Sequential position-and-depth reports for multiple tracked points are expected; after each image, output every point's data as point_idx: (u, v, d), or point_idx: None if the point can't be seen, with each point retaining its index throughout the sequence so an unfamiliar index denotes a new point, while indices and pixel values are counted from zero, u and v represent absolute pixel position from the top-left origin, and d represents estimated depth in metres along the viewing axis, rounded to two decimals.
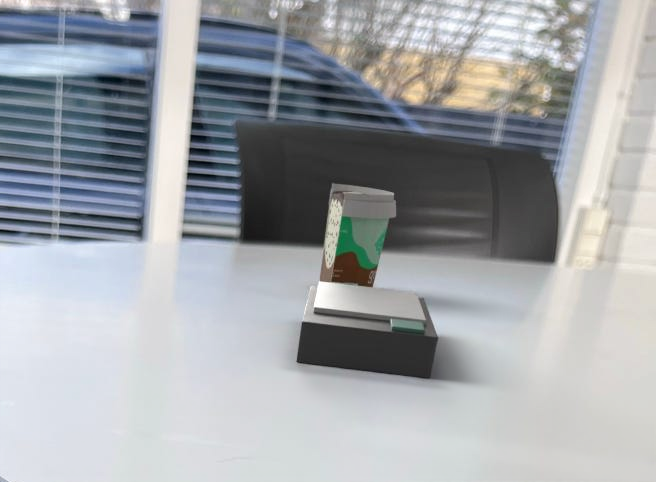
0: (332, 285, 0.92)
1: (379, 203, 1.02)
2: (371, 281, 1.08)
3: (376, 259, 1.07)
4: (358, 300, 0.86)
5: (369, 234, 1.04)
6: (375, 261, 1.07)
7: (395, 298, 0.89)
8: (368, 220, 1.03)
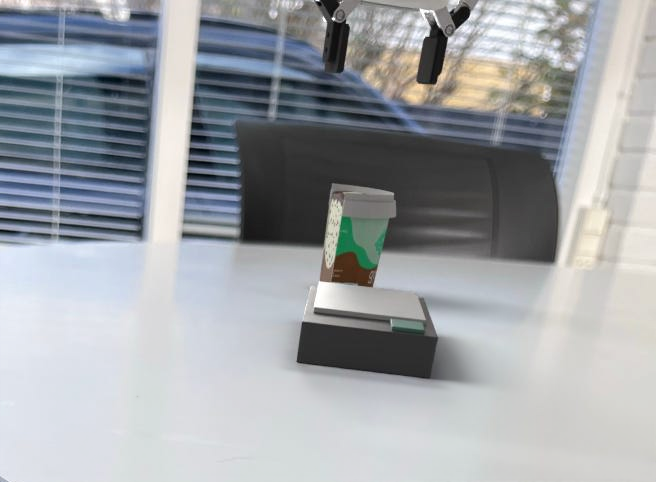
0: (332, 285, 0.92)
1: (379, 203, 1.02)
2: (371, 281, 1.08)
3: (376, 259, 1.07)
4: (358, 300, 0.86)
5: (370, 234, 1.04)
6: (375, 261, 1.07)
7: (395, 298, 0.89)
8: (368, 220, 1.03)
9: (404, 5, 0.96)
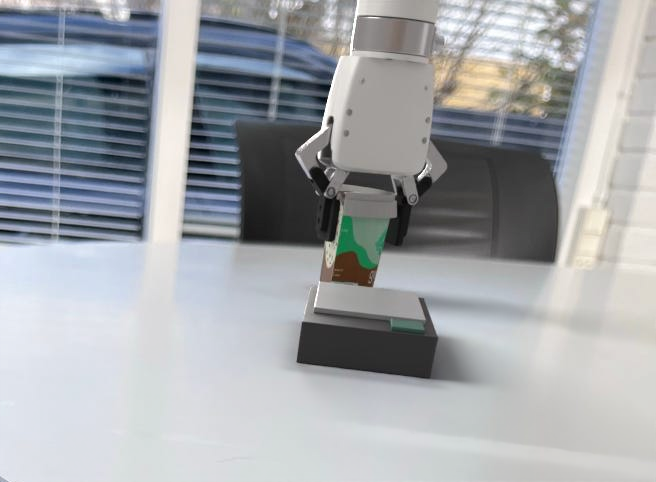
0: (332, 285, 0.92)
1: (380, 203, 1.03)
2: (371, 281, 1.08)
3: (376, 259, 1.07)
4: (358, 300, 0.86)
5: (370, 234, 1.04)
6: (375, 261, 1.07)
7: (395, 298, 0.89)
8: (369, 220, 1.03)
9: (381, 173, 1.04)
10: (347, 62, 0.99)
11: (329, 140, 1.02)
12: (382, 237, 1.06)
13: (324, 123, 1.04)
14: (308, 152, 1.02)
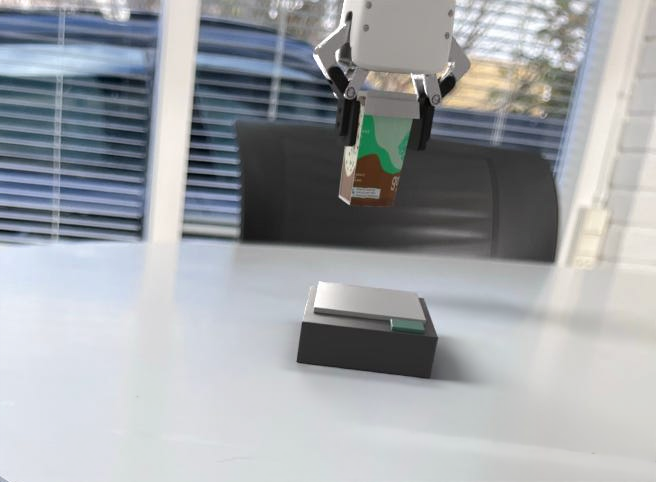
0: (332, 285, 0.92)
1: (402, 101, 0.98)
2: (394, 188, 1.04)
3: (399, 164, 1.03)
4: (358, 300, 0.86)
5: (393, 135, 1.00)
6: (398, 166, 1.03)
7: (395, 298, 0.89)
8: (391, 120, 0.99)
9: (403, 71, 1.00)
10: None
11: (348, 37, 0.98)
12: (405, 140, 1.02)
13: (342, 20, 0.99)
14: (326, 50, 0.98)
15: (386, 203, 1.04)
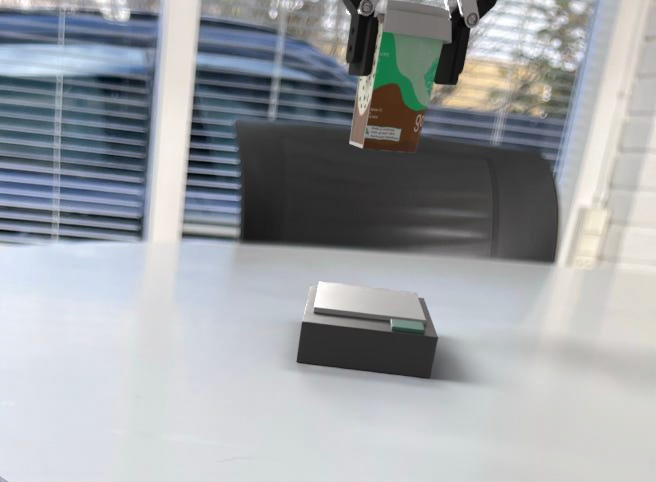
0: (332, 285, 0.92)
1: (431, 17, 0.79)
2: (418, 129, 0.84)
3: (425, 99, 0.83)
4: (358, 300, 0.86)
5: (418, 60, 0.80)
6: (423, 101, 0.83)
7: (395, 298, 0.89)
8: (416, 40, 0.79)
9: None
10: None
11: None
12: (432, 68, 0.82)
13: None
14: None
15: (408, 148, 0.84)
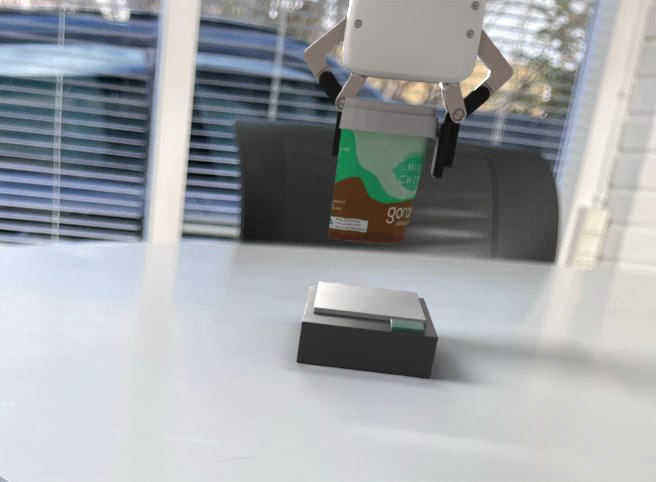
0: (332, 285, 0.92)
1: (393, 114, 0.79)
2: (393, 221, 0.84)
3: (399, 192, 0.83)
4: (358, 300, 0.86)
5: (382, 155, 0.81)
6: (397, 194, 0.83)
7: (395, 298, 0.89)
8: (379, 136, 0.80)
9: (411, 78, 0.80)
10: None
11: (343, 36, 0.81)
12: (406, 163, 0.82)
13: None
14: (315, 51, 0.82)
15: (379, 239, 0.84)
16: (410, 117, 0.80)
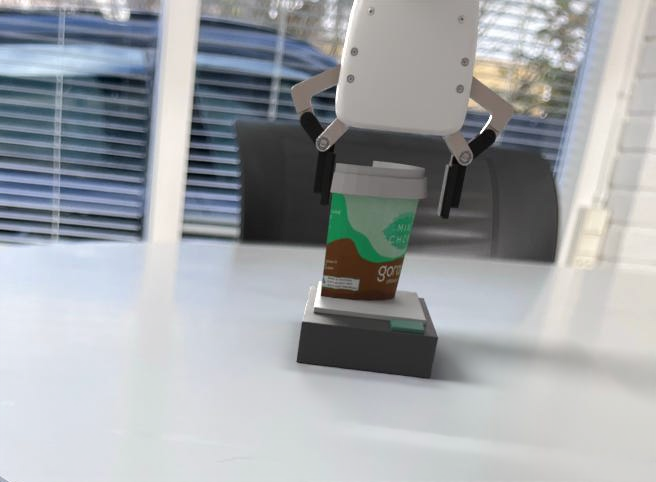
0: None
1: (383, 178, 0.81)
2: (384, 279, 0.86)
3: (390, 251, 0.85)
4: (358, 300, 0.86)
5: (373, 217, 0.83)
6: (388, 254, 0.85)
7: (395, 298, 0.89)
8: (369, 199, 0.82)
9: (402, 131, 0.82)
10: None
11: (332, 82, 0.82)
12: (396, 223, 0.84)
13: None
14: (302, 90, 0.83)
15: (371, 296, 0.87)
16: (399, 181, 0.82)
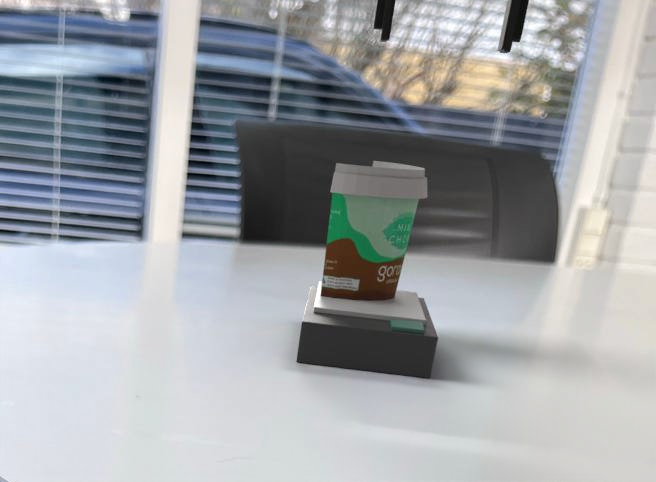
0: None
1: (383, 178, 0.81)
2: (384, 279, 0.86)
3: (390, 251, 0.85)
4: (358, 300, 0.86)
5: (373, 218, 0.83)
6: (388, 254, 0.85)
7: (395, 298, 0.89)
8: (369, 199, 0.82)
9: None
10: None
11: None
12: (396, 223, 0.84)
13: None
14: None
15: (371, 296, 0.87)
16: (399, 181, 0.82)
